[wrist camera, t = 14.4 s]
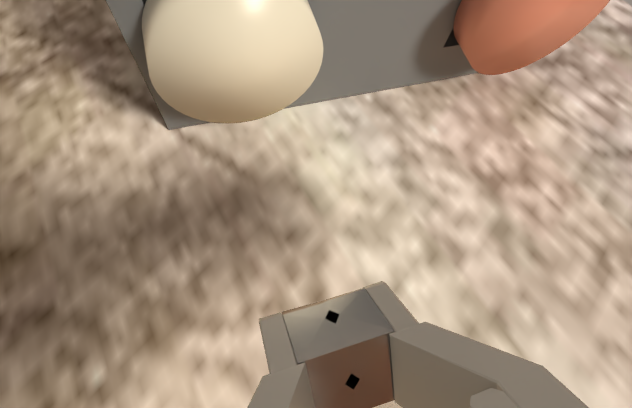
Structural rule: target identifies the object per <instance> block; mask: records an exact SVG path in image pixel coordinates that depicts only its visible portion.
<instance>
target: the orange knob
mask: <svg viewBox="0 0 632 408" xmlns="http://www.w3.org/2000/svg"><path fill="white" fill-rule="evenodd" d="M609 1H610V0H462V1H461V3H460V5H459V7H458V10H457V12H456V15H455V19H454V25H453V29H454V36H455V38H456V40H457V42H458V44H459V45H460V47H461V49H462V51H463V52H464V54H465V56H466V58H467V59H468V61H469V63H470V65H471V66H472V68H473V69H474V70H475V71H477V72H478V73H481V74H486V75H496V74H503V73H507V72H511V71H514V70H517V69H520V68H522V67H525V66H527V65H529V64H531V63H533V62H535V61H537V60H539V59H541V58H543V57H545V56H546V55H548V54H550V53H551V52H553V51H554V50H556V49H558V48H559V47H560V46H562V45H563V44H565V43H566V42H567V41H569V40H570V39H571V38H573V37H574V36H575V35H576V34H578V33H579V32H580V31H581V30H582V29H584V28H585V27H586V26H587V25H588V24H589V23H590V22H591V21H592V20H593V19H594V18H595V17H596V16H597V15H598V14H599V13H600V12H601V11H602V9H603V8H604V7H605V6H606V5H607V4H608V2H609Z"/></svg>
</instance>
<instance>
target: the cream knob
mask: <svg viewBox="0 0 632 408" xmlns="http://www.w3.org/2000/svg"><path fill="white" fill-rule="evenodd" d="M142 34H143V40H144V46H145V53H146V59H147V65H148V71H149V77H150V79H151V82H152V85H153V86H154V88H155V90H156V92H157V93H158V94H159V95H160V97H161V98H162V99H163V100H164V101H165V102H166V103H167V104H168V105H170V106H171V107H173V108H174V109H175V110H177V111H179V112H181V113H183V114H184V115H187V116H189V117H192V118H195V119H198V120H202V121H207V122H214V123H241V122H247V121H252V120H256V119H260V118H263V117H266V116H269V115H271V114H274V113H276V112H278V111H280V110H282V109H284V108H285V107H287V106H289V105H290V104H292V103H293V102H294V101H296V100H297V99H298V98H299V97H300V96H301V95H302V94H304V93H305V91H306V90H307V89H308V88H309V87H310V85H311V84H312V83H313V81H314V80H315V78H316V76H317V74H318V72H319V70H320V67H321V64H322V59H323V41H322V37H321V34H320V31H319V28H318V26H317V23H316V20H315V18H314V15H313V13H312V10H311V8H310V5H309V3H308V0H146V3H145V6H144V9H143V15H142Z"/></svg>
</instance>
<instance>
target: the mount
mask: <svg viewBox="0 0 632 408" xmlns="http://www.w3.org/2000/svg"><path fill="white" fill-rule="evenodd" d="M461 1H462V0H308V3H309V5H310V8H311V10H312V13H313V15H314V18H315V20H316V23H317V26H318V28H319V31H320V34H321V37H322V41H323V59H322V64H321V67H320V70H319V72H318V74H317V76H316V78H315V80H314V81H313V83H312V84H311V85H310V87H309V88H308V89H307V90H306V91H305V93H304V94H302V95H301V96H300V97H299V98H298V99H297V100H296V101H294V102H293V103H292V104H290V105H289V106H287V107H285V108H290V107H295V106H301V105H306V104H311V103H317V102H322V101H328V100H333V99H338V98H344V97H349V96H355V95H360V94H366V93H371V92H376V91H382V90H387V89H393V88H398V87H404V86H409V85H414V84H420V83H425V82H431V81H436V80H441V79H447V78H452V77H458V76H463V75H469V74H474V73H478V72H477V71H475V70H474V69H473V68H472V66H471V65H470V63H469V61H468V59H467V58H466V56H465V54H464V52H463V51H462V49H461V47H460V45H459V44H458V42H457V40H456V38H455V36H454V29H453V25H454V19H455V15H456V12H457V10H458V7H459V5H460V3H461ZM106 2H107V4H108V6H109V8H110V10H111V12H112V14H113V16H114V18H115V20H116V22H117V24H118V26H119V28H120V31H121V33H122V35H123V37H124V39H125V41H126V43H127V45H128V47H129V49H130V51H131V53H132V55H133V57H134V59H135V61H136V63H137V65H138V68H139V70H140V72H141V74H142V76H143V78H144V80H145V82H146V84H147V86H148V88H149V90H150V92H151V94H152V96H153V98H154V100H155V102H156V105H157V107H158V109H159V111H160V113H161V115H162V117H163V119H164V121H165V123H166V125H167V127H168V129H169V130H170V129H176V128H181V127H187V126H192V125H198V124H203V123H208V122H207V121H202V120H198V119H195V118H192V117H189V116H187V115H184V114H183V113H181V112H179V111H177V110H175V109H174V108H173V107H171V106H170V105H168V104H167V103H166V102H165V101H164V100H163V99H162V98H161V97H160V95H159V94H158V93H157V92H156V90H155V88H154V86H153V85H152V82H151V79H150V77H149V71H148V65H147V59H146V53H145V46H144V40H143V34H142V15H143V9H144V6H145V3H146V0H106Z"/></svg>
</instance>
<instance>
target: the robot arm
mask: <svg viewBox="0 0 632 408" xmlns="http://www.w3.org/2000/svg"><path fill="white" fill-rule="evenodd" d="M259 324H260V329H261V334H262V339H263V344H264V349H265V354H266V358H267V363H268V368H269V373H270V374H269V375H266V376H263V377H262V379H261V381H260V383H259V385H258V387H257V389H256V391H255V393H254V395H253V397H252V399H251V402H250V404H249V406H248V408H372V407H375V406H378V405H381V404H384V403H387V402H390V401H393V400H395V402H396V403H397V404H399V405H400V406H401V407H403V408H589V407H587V406H586V405H585V404H584V403H583V402H582V401H581V400H580V399H579V398H577V397H576V396H575V395H574V394H573V393H572V392H571V391H570V390H569V389H568V388H566V387H565V386H564V385H563V384H562V383H561V382H560V381H559V380H558V379H556V378H555V377H554V376H553V375H552V374H551V373H550V372H549V371H548V370H547V369H545V368H544V367H543V366H541V365H538V364H536V363H533V362H530V361H528V360H525V359H522V358H520V357H517V356H515V355H512V354H509V353H507V352H504V351H501V350H499V349H496V348H493V347H491V346H488V345H485V344H483V343H480V342H477V341H475V340H472V339H470V338H467V337H464V336H462V335H459V334H456V333H454V332H451V331H448V330H446V329H443V328H440V327H438V326H435V325H433V324H430V323H427V322H423V323H420V324H419V323H418V321H417V320H416V319H415V318H414V317H413V315H412V314H411V313H410V312H409V311H408V309H407V308H406V307H405V306H404V304H403V303H402V302H401V301H400V300H399V298H398V297H397V296H396V295H395V294H394V292H393V291H392V290H391V289H390V288H389V286H388V285H387V284H386V283H385V282H383V281H381V282H378V283H375V284H372V285H369V286H366V287H363V288H362V289H359V290H355V291H352V292H349V293H346V294H343V295H339V296H336V297H333V298H330V299H326V300H322V301H319V302H315V303H312V304H308V305H305V306H301V307H297V308H294V309H290V310H287V311H283V312H282V314H281V313H277V314H273V315H270V316H267V317H263V318H260V319H259Z"/></svg>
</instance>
